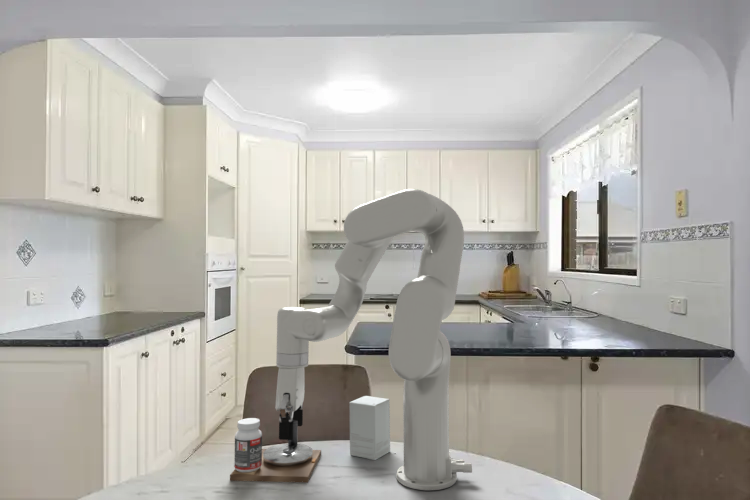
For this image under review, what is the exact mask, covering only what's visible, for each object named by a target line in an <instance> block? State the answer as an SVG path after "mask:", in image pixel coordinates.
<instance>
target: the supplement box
mask: <svg viewBox="0 0 750 500" xmlns="http://www.w3.org/2000/svg"><path fill="white" fill-rule="evenodd" d="M348 404H349V405H348V406H349V407H348V408H349V455H350V456H354V457H357V458H358V457H360V458H363V459H368V460H372V461H376V460H378V459H380V458H382V457H383V456H385V455H386V454H388V453H390V452H391V416H390V414H391V413H390V411H391V410H390V399H389V398H383V397H378V396H370V395H363V396H361V397H359V398H358V397H357V398H356V399H354V400H352V401H349V402H348Z"/></svg>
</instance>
